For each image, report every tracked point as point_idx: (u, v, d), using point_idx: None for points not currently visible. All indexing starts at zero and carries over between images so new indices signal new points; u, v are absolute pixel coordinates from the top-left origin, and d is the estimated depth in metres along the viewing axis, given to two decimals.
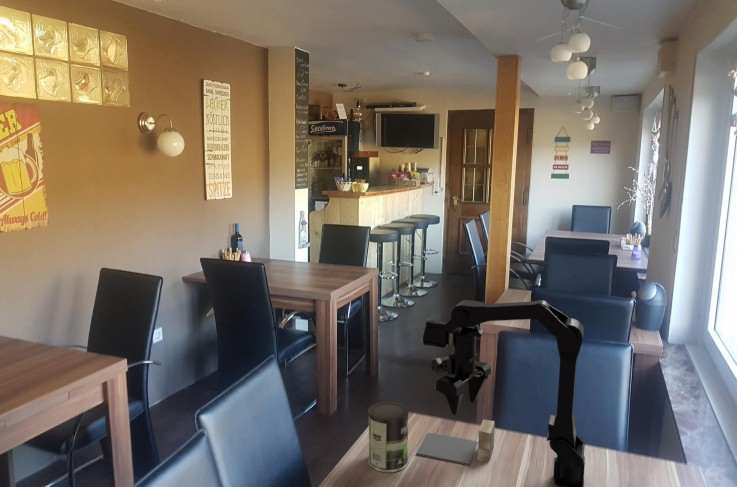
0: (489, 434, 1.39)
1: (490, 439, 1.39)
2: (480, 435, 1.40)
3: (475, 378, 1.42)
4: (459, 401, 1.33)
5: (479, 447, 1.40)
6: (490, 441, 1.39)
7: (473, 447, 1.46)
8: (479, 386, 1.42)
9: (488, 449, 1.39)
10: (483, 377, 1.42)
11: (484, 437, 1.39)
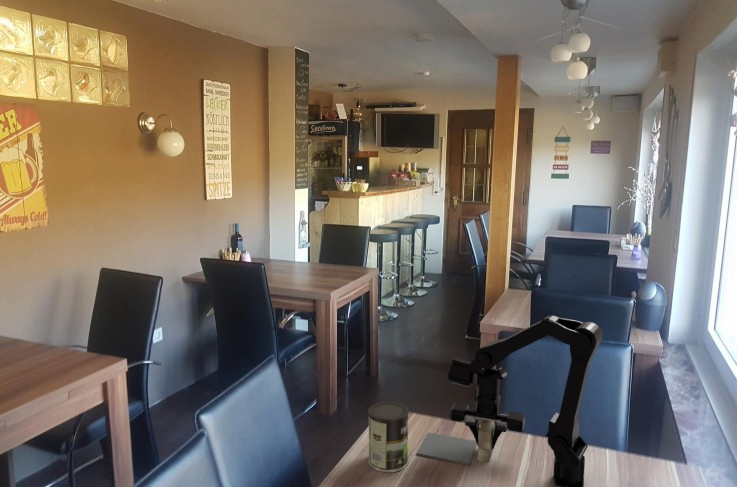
0: (489, 434, 1.39)
1: (490, 439, 1.39)
2: (480, 435, 1.40)
3: None
4: (473, 432, 1.42)
5: (479, 447, 1.40)
6: (490, 441, 1.39)
7: (473, 447, 1.46)
8: None
9: (488, 449, 1.39)
10: (499, 428, 1.39)
11: (484, 437, 1.39)
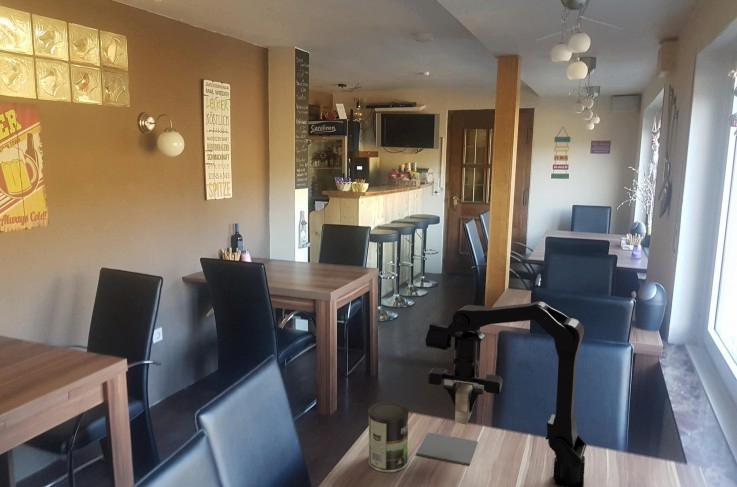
0: (466, 396, 1.39)
1: (467, 401, 1.39)
2: (457, 397, 1.39)
3: None
4: (451, 396, 1.41)
5: (456, 410, 1.40)
6: (467, 403, 1.39)
7: (473, 447, 1.46)
8: None
9: (465, 411, 1.39)
10: (476, 391, 1.39)
11: (461, 399, 1.39)
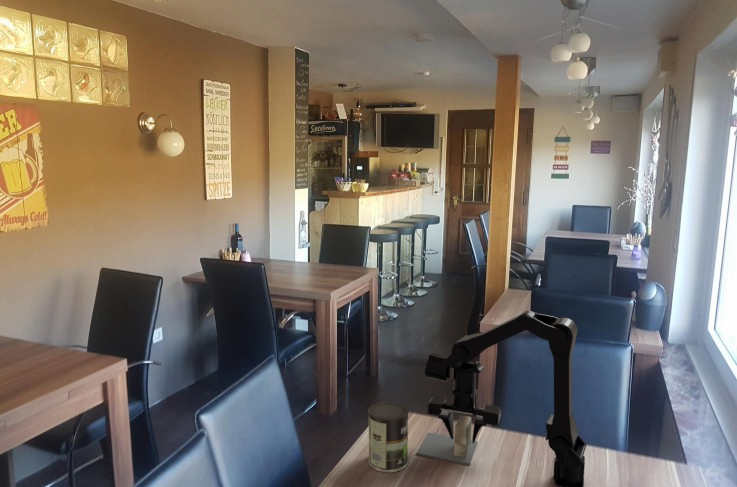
0: (465, 430, 1.40)
1: (466, 434, 1.40)
2: (456, 431, 1.41)
3: (475, 420, 1.41)
4: (446, 425, 1.43)
5: (455, 442, 1.41)
6: (466, 436, 1.40)
7: (473, 447, 1.46)
8: None
9: (464, 444, 1.40)
10: (479, 422, 1.39)
11: (460, 433, 1.40)
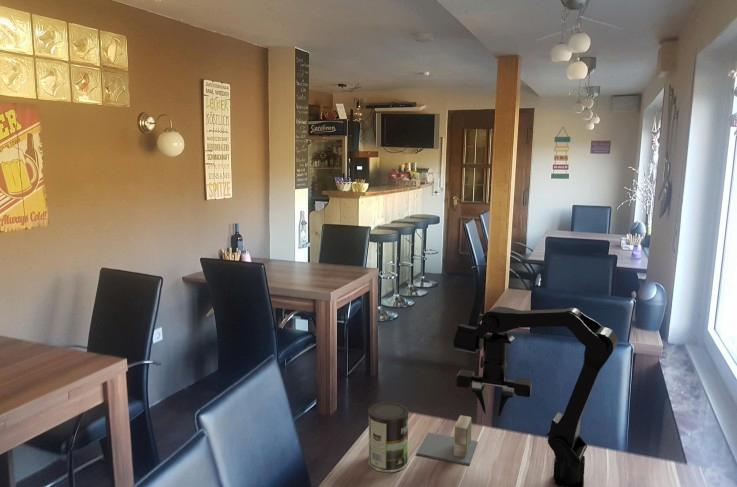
0: (465, 430, 1.40)
1: (466, 434, 1.40)
2: (456, 431, 1.41)
3: (502, 391, 1.38)
4: (479, 399, 1.39)
5: (455, 442, 1.41)
6: (466, 436, 1.40)
7: (473, 447, 1.46)
8: (500, 400, 1.37)
9: (464, 444, 1.40)
10: (506, 394, 1.36)
11: (460, 433, 1.40)
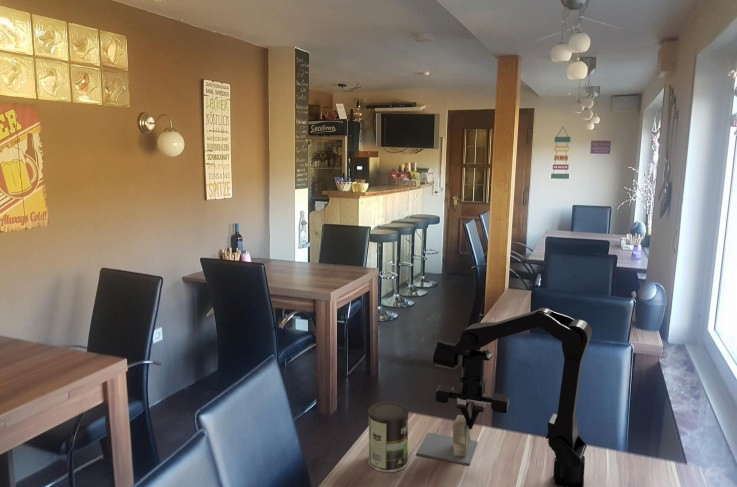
0: (463, 428, 1.40)
1: (464, 433, 1.41)
2: (454, 430, 1.41)
3: (473, 406, 1.41)
4: (464, 415, 1.41)
5: (454, 442, 1.41)
6: (464, 435, 1.41)
7: (473, 447, 1.46)
8: None
9: (463, 443, 1.40)
10: (477, 408, 1.39)
11: (458, 432, 1.41)
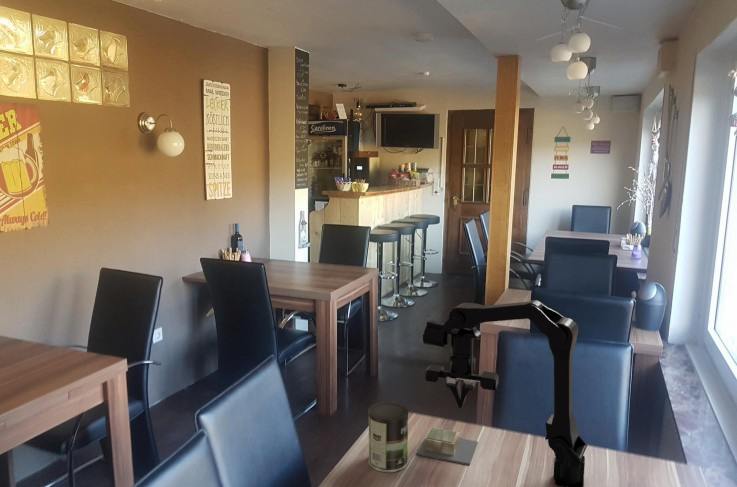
0: (426, 439, 1.44)
1: (432, 439, 1.44)
2: (428, 448, 1.44)
3: (463, 384, 1.43)
4: (454, 393, 1.42)
5: (440, 451, 1.43)
6: (434, 439, 1.44)
7: (473, 447, 1.46)
8: (461, 393, 1.42)
9: (441, 443, 1.43)
10: (467, 386, 1.41)
11: (429, 445, 1.44)
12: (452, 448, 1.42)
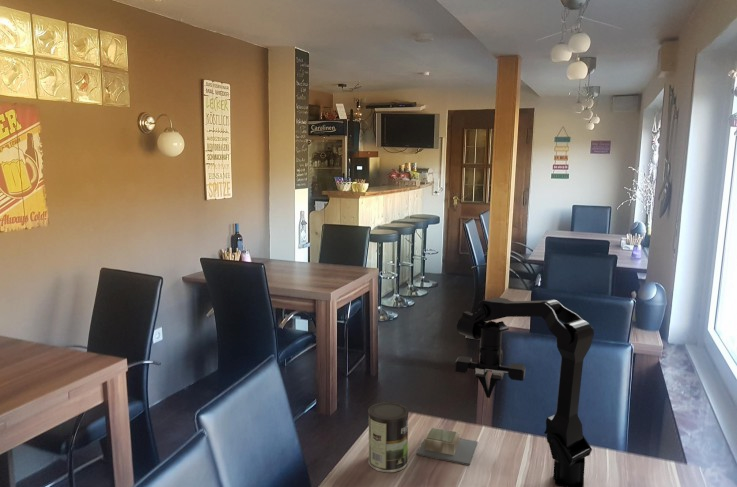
0: (426, 439, 1.44)
1: (432, 439, 1.44)
2: (428, 448, 1.44)
3: None
4: (482, 384, 1.48)
5: (440, 451, 1.43)
6: (434, 439, 1.44)
7: (473, 447, 1.46)
8: None
9: (441, 443, 1.43)
10: (495, 377, 1.47)
11: (429, 445, 1.44)
12: (452, 448, 1.42)
